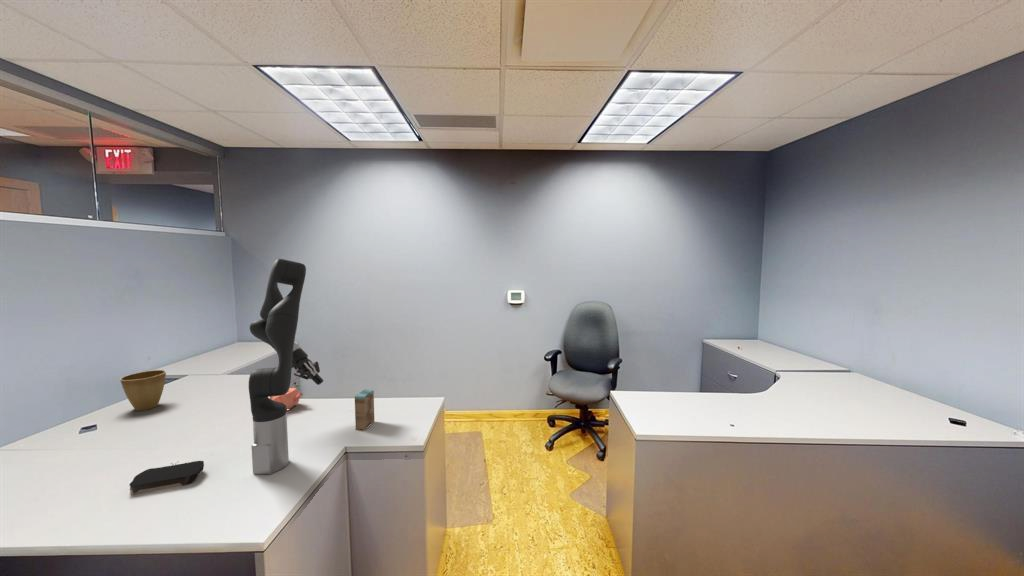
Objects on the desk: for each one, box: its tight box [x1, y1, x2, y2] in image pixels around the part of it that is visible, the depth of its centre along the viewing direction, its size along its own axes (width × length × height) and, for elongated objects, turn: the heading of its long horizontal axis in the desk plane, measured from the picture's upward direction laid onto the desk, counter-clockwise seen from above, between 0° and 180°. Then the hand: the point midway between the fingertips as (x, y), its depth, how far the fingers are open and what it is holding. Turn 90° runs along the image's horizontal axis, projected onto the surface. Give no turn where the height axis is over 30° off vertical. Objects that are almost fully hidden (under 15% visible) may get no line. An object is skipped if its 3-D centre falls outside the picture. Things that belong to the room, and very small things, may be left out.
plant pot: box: [119, 369, 167, 411], centre depth 164 cm, size 15×15×16 cm
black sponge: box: [129, 460, 205, 495], centre depth 107 cm, size 16×8×4 cm, turn 110°
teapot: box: [269, 387, 304, 410], centre depth 163 cm, size 12×12×10 cm
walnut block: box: [354, 389, 375, 431], centre depth 145 cm, size 8×4×14 cm, turn 175°
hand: (321, 383), depth 146 cm, fingers closed
